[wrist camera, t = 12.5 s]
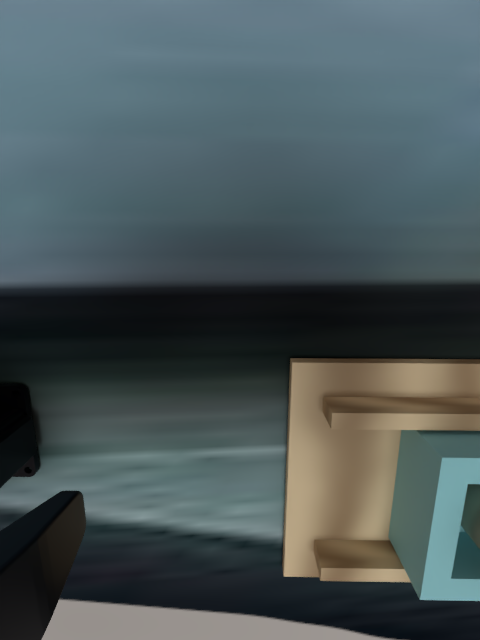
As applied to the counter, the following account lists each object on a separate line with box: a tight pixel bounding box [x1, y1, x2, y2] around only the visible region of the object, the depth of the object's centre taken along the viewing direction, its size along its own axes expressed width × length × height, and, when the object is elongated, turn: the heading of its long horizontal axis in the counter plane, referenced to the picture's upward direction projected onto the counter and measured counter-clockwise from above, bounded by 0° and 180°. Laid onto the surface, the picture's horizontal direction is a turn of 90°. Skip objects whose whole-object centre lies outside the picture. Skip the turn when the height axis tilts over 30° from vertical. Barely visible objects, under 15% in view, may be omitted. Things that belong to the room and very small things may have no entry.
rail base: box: [282, 358, 480, 582], centre depth 20 cm, size 20×16×3 cm
